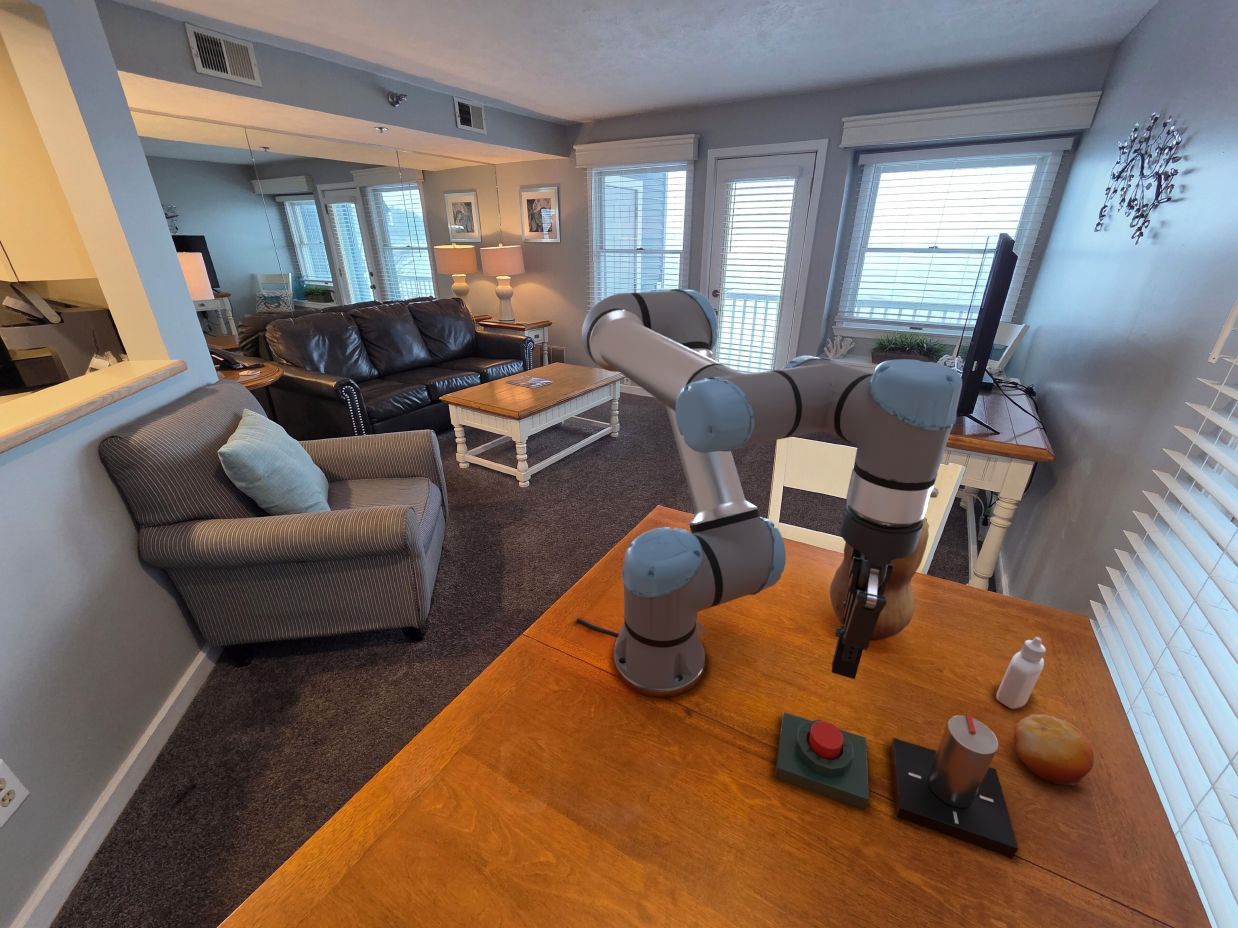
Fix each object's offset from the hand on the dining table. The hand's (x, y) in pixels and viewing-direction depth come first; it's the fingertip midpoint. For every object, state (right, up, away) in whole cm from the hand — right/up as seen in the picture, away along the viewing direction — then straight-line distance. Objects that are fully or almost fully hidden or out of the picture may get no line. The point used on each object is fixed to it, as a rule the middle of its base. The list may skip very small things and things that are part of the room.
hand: (843, 671), depth 63 cm
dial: (+13, -15, 0) cm, 20 cm away
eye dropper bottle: (+32, -10, +14) cm, 37 cm away
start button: (-1, -11, +4) cm, 12 cm away
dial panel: (+13, -16, +1) cm, 21 cm away
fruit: (+29, -15, +5) cm, 33 cm away
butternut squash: (+16, -4, +28) cm, 33 cm away
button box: (-1, -15, +5) cm, 16 cm away
